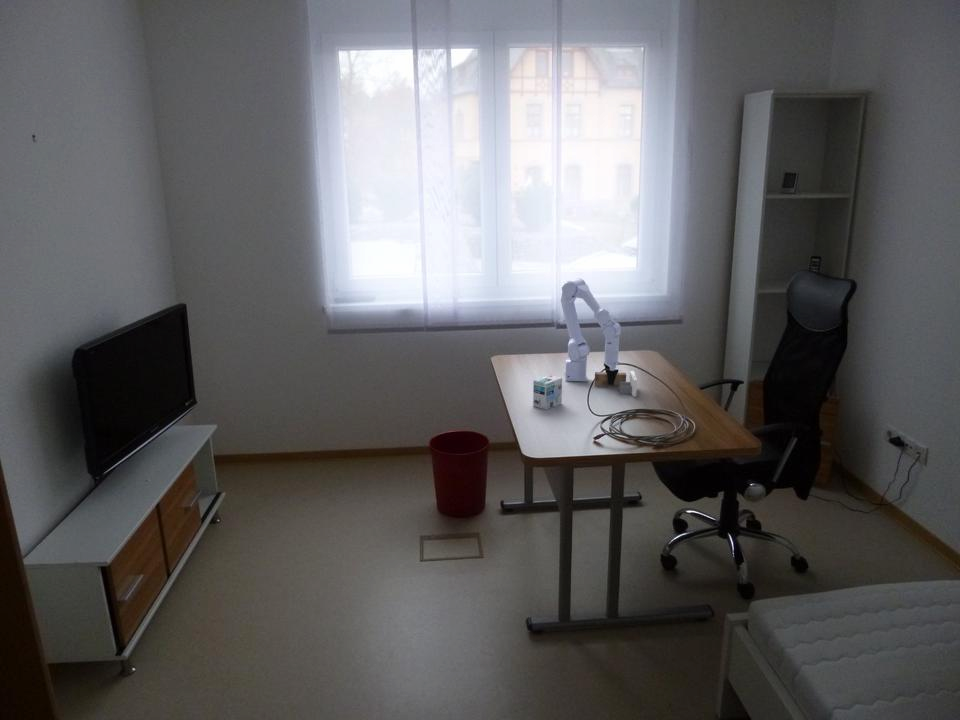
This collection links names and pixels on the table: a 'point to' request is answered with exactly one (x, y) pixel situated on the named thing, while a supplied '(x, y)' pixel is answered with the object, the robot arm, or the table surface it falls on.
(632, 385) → the bracket
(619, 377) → the rail
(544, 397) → the light bulb box
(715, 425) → the table surface
